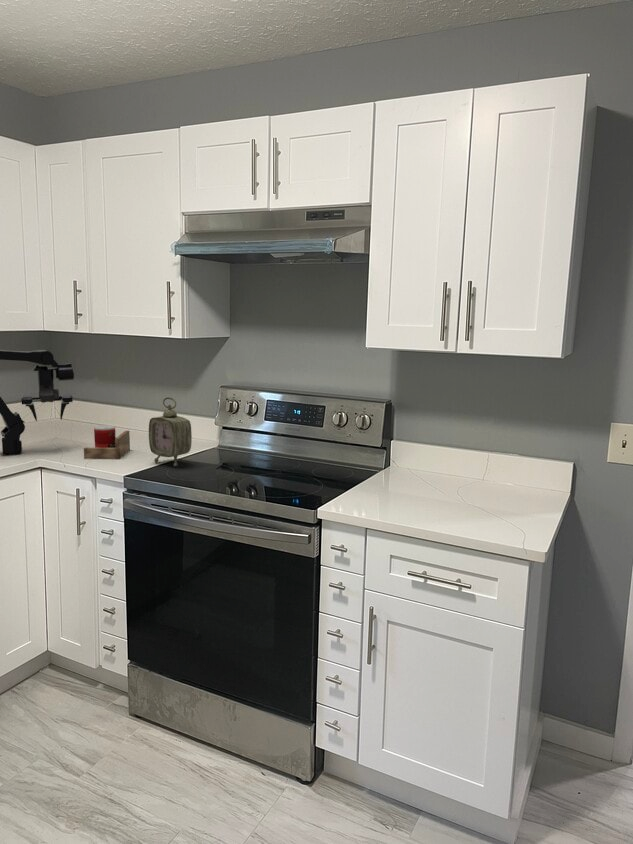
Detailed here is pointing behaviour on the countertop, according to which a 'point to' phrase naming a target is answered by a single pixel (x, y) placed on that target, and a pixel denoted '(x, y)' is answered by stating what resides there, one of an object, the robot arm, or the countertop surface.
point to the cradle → (110, 449)
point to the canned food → (104, 436)
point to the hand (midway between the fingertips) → (48, 420)
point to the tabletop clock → (169, 434)
